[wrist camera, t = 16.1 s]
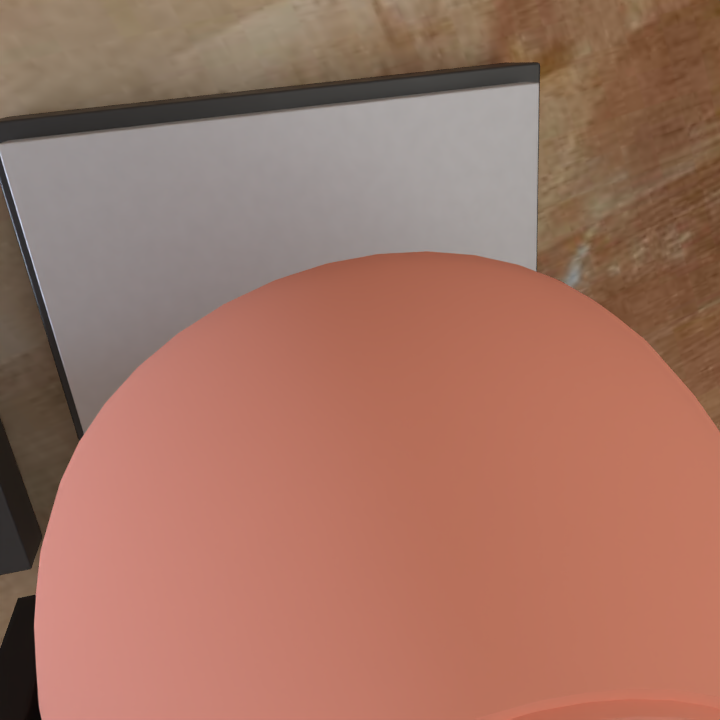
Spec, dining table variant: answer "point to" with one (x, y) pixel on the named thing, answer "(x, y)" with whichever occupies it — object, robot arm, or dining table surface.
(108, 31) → the dining table surface
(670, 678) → the sugar bowl
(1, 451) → the block
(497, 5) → the dining table surface
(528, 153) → the scale
